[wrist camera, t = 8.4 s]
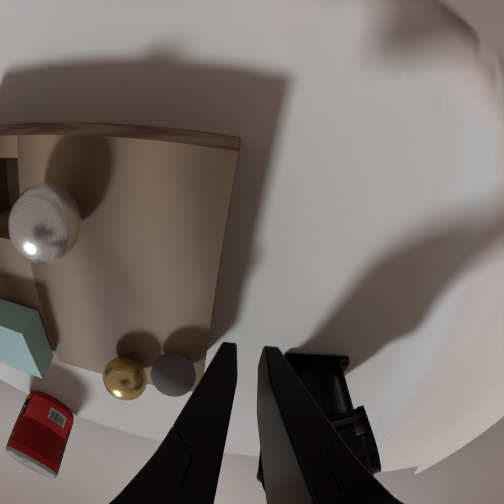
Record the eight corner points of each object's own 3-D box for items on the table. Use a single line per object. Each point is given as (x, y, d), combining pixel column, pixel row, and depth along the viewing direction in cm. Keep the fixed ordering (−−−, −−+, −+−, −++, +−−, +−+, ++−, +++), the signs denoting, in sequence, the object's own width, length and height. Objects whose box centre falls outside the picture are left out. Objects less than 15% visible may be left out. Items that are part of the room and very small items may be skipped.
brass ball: (149, 352, 19) (140, 388, 17) (151, 378, 21) (144, 412, 18) (107, 342, 19) (93, 377, 16) (112, 370, 20) (102, 402, 18)
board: (240, 137, 17) (238, 151, 13) (205, 352, 26) (201, 392, 22) (-14, 126, 15) (-52, 140, 11) (17, 309, 23) (-4, 338, 19)
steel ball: (93, 175, 13) (51, 205, 10) (95, 245, 15) (63, 288, 12) (34, 170, 13) (-12, 197, 9) (40, 235, 15) (3, 272, 11)
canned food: (24, 382, 30) (-3, 443, 21) (71, 403, 32) (49, 470, 22) (35, 407, 34) (14, 461, 24) (78, 425, 35) (61, 483, 26)
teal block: (38, 310, 17) (22, 334, 15) (53, 356, 20) (42, 378, 17) (-8, 295, 17) (-24, 315, 14) (10, 340, 19) (-2, 360, 17)
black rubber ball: (199, 346, 19) (194, 383, 16) (196, 373, 20) (192, 407, 18) (154, 339, 19) (145, 374, 16) (156, 366, 20) (148, 400, 18)
